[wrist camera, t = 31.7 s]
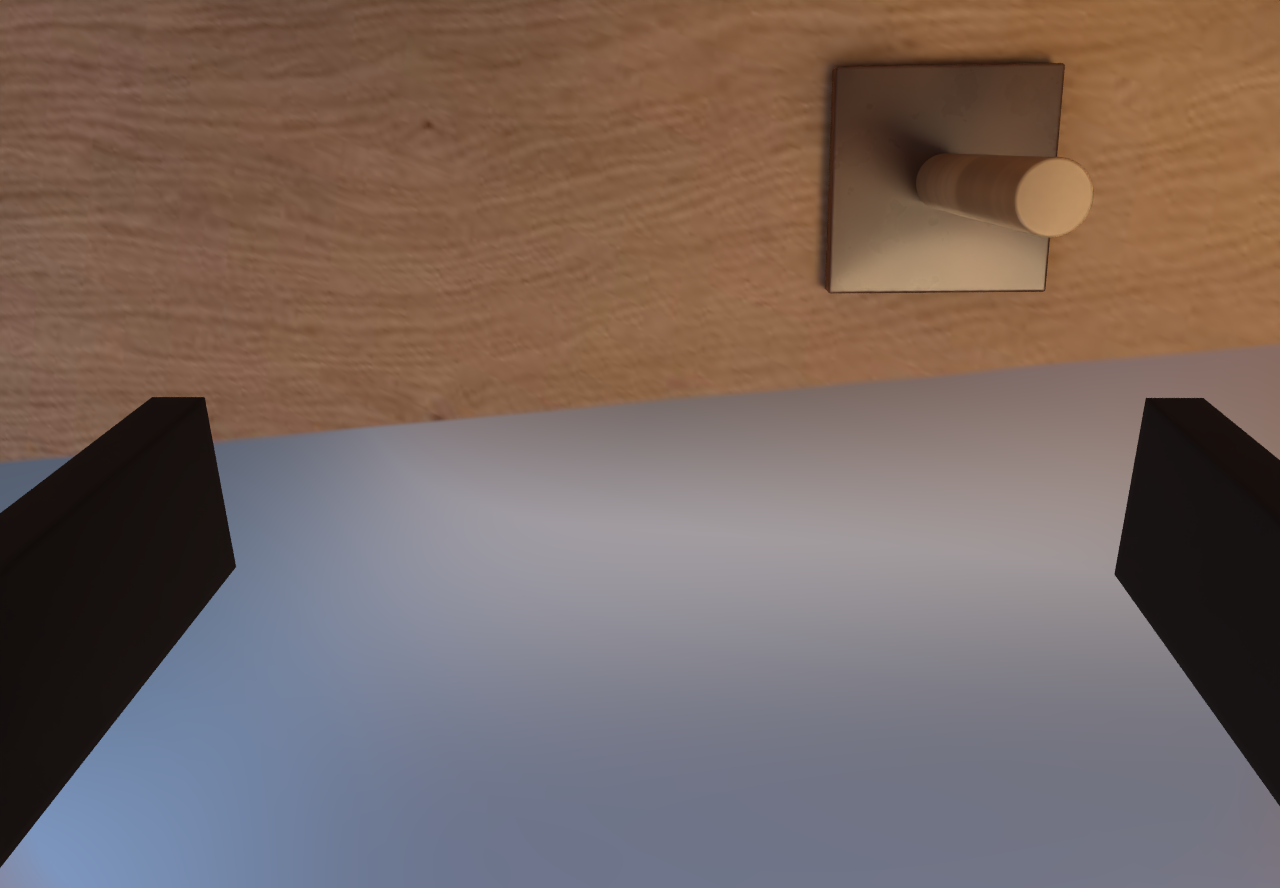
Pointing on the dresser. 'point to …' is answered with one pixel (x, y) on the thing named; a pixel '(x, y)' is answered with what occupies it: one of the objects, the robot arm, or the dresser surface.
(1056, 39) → the dresser surface
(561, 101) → the dresser surface
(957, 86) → the dowel stand
